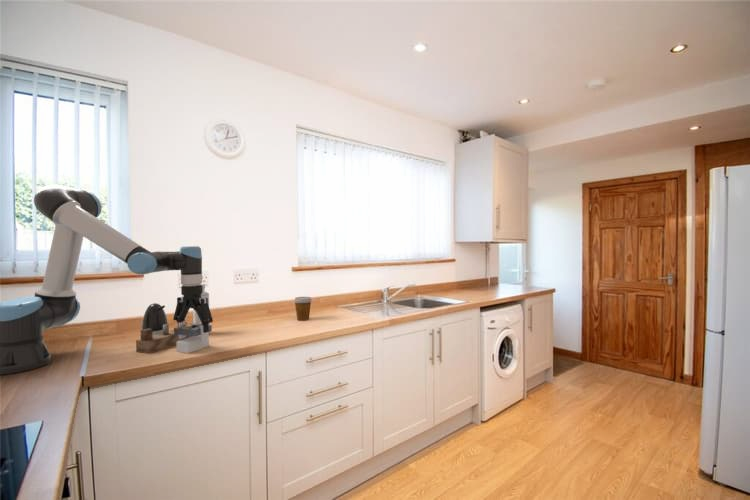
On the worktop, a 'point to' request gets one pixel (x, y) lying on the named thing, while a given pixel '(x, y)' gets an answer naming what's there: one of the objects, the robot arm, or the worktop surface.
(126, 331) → the worktop surface
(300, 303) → the disposable coffee cup
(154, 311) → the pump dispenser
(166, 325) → the plane body
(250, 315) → the worktop surface
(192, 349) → the white rectangular block
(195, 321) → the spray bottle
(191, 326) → the lever cap
